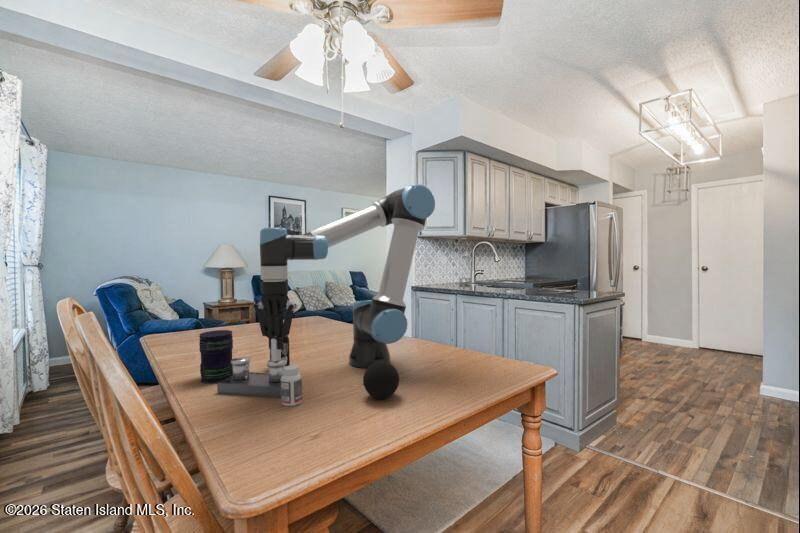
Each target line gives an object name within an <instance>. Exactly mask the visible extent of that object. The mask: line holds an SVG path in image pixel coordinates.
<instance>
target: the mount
mask: <svg viewBox="0 0 800 533" xmlns="http://www.w3.org/2000/svg"><path fill="white" fill-rule="evenodd" d="M216 385H217V386H216V388H217V394H222V395H224V394H225V395H237V396H249V397H250V396H252V397H261V398H264V397H265V398H276V399H280V398H282V395H281V381H280V382H271V381H269V372H261V371H260V372H259V371H258V372H257V371H249V377H248V378H245V379H243V380H241V379H233V375H232V376H230V377H228V378H226V379H224V380H222V381H220V382H218V383H216Z"/></svg>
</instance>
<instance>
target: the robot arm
mask: <svg viewBox="0 0 800 533" xmlns="http://www.w3.org/2000/svg"><path fill="white" fill-rule="evenodd" d="M435 208H436V200H435V197H434V195H433V193H432V191H431V190H430V188H428V187H427V186H426V185H423V184H418V183H417V184H409V185H407V186H406V187H403V188H400V189H397V190H394V191H393V192H390V193H389V194H387V195H386V196H384V197H383V198H381V199H378V200H377V201H376V200H375V202H372V203H371V206H369V207H367V208H365V209H361V210H359V211H357V212H354V213H352V214H350V215H347V216H345V217H342V218H340V219H338V220H335V221H332V222H330V223H328V224H325V225H323V226H320V227H318V228H314V229H313V230H310V231H307V232H306V233H303V234H299V235H298V234H294V235H293V234H288V231H287V229H286V228H285V227H263V228H262V229H261V230H260V231H259V234H260V235H259V255H260V256H259V257H260V258H259V259H260V280H262V281H261V283H260V294H261V298H260V301H259V302H258V303H254V304H253V308H254V310H255V312H256V314H257V319H258V322H259V328H260V331H261V335H262V337H267V338H268V348H269V350H270V349H271V358H272V361H278V360H280V359H281V349H282V348H283V337H285V336H287V335H288V336H289V335H290V331H291V326H292V322H293V317H294V312H295V309H297V306H298V305H297V304H296V303H293V302H291V301H290V299H289V296H288V295H289V294H288V293H289V282H288V281H287V279H288V274H289V273H288V261H293V260H294V261H296V260H297V261H298V260H303V261H305V260H306V261H309V260H310V261H311V260H312V261H313V260H314V261H318V260H324V259H326V258H327V257H328V254H329V248H331V247H333V246H336V245H338V244H340V243H342V242H344V241H347V240H349V239H352V238H354V237H357V236H359V235H360V234H363V233H365V232H368V231H370V230H373V229H375V228H377V227H380V228H381V227H385V226H389V225H393V226H394V227H393V231H392V234H391V238H390V242H389V247H388V252H387V255H386V260H385V265H384V269H383V273H382V277H381V281H380V285H379V288H378V290H379V291H378V293H377V295H375V296H373V297H372V299H370V300H357V301H355V302H353V304H352V306H353V307H352V324H353V328H352V329H353V343H352V345H351V350H350V353H349V356H348V363H349V365H350V366H352V367H356V368H363V369H367V368H368V367H369V366H370V365H371V364H373V363H375V362H378V361H385V362H388V363H390V364H391V354H390V351H389V348H388V344H394V343H398V341H400V340H401V339H403V337H404V336H405V334H406V332H407V331H408V330H407V329H408V320H407V317H406V314H405V313H406V308H407V305H406V303H405V301H404V297H405V292H406V287H407V283H408V279H409V276H410V275H409V274H410V271H411V266H412V263H413V257H414V254H415V249H416V246H417V240H418V237H419V233H420V232H421V231H423V230H424V229H425V226H426V223H427V222H426V221H427V219H428V218H429V217H430V216H432V214H433V212H434V211H435ZM285 309H286V311H285ZM275 336H276V337H275Z"/></svg>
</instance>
